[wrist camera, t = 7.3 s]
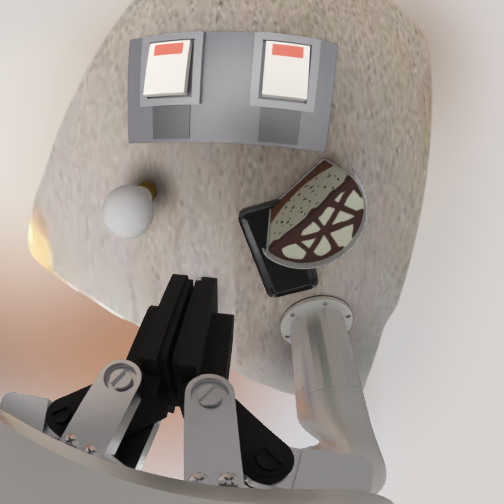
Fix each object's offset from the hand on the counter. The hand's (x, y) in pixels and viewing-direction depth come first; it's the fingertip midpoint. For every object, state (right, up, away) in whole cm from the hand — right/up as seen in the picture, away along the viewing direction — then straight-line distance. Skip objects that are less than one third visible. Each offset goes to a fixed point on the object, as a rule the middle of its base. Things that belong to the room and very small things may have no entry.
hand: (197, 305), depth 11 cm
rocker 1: (-6, +19, +10) cm, 23 cm away
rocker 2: (+5, +19, +11) cm, 22 cm away
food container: (+10, +9, +24) cm, 27 cm away
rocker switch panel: (0, +20, +16) cm, 26 cm away
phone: (+6, +3, +29) cm, 29 cm away
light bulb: (-11, +10, +23) cm, 28 cm away
